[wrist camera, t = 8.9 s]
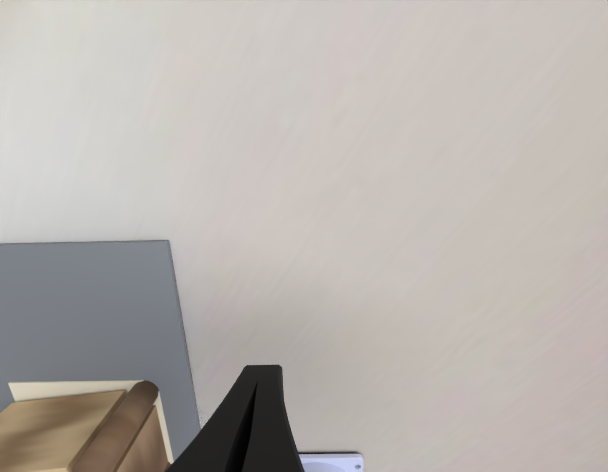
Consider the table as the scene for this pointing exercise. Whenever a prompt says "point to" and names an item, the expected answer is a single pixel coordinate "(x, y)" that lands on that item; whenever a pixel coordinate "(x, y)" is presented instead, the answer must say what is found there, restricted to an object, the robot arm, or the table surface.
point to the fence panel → (52, 431)
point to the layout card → (95, 327)
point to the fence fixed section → (129, 437)
